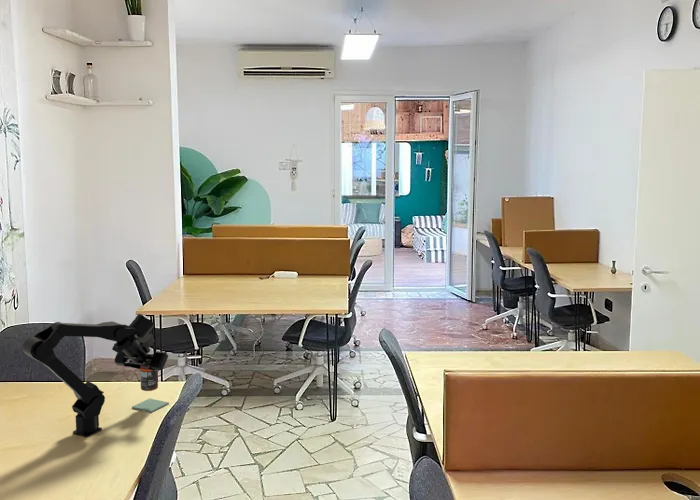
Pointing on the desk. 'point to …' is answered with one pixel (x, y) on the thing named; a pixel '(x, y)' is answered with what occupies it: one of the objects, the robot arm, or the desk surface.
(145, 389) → the supplement bottle
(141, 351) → the robot arm
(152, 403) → the mat
